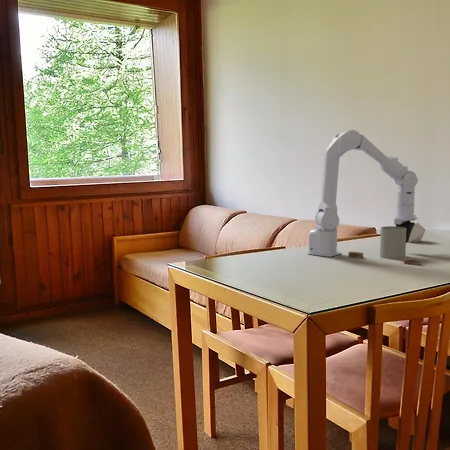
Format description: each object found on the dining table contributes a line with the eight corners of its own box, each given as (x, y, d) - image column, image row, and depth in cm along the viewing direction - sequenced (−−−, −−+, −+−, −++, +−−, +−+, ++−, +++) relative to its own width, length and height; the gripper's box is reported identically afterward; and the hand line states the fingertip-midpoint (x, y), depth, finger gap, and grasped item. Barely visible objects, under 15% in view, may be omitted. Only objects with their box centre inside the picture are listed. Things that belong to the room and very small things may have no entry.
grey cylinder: (408, 255, 174) (409, 227, 173) (402, 259, 167) (403, 230, 166) (383, 253, 179) (384, 225, 178) (376, 257, 172) (377, 228, 171)
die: (424, 245, 199) (432, 224, 202) (404, 234, 198) (412, 213, 201) (412, 249, 207) (420, 228, 210) (393, 239, 206) (401, 218, 209)
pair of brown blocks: (348, 256, 174) (348, 252, 174) (351, 255, 176) (351, 251, 176) (417, 265, 158) (418, 260, 158) (420, 264, 160) (420, 259, 160)
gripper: (408, 206, 170) (407, 246, 172) (424, 203, 181) (423, 240, 183) (388, 205, 175) (387, 244, 177) (405, 202, 186) (404, 239, 187)
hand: (404, 242), depth 180 cm, fingers closed
